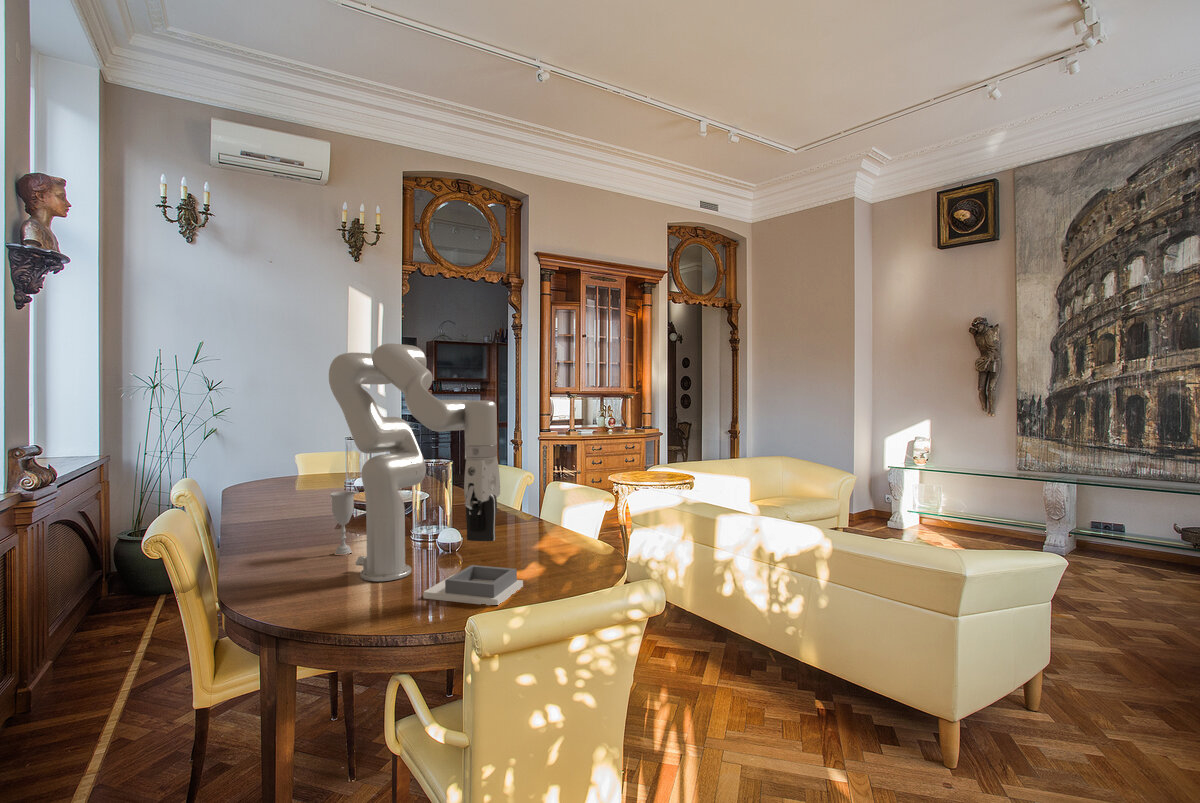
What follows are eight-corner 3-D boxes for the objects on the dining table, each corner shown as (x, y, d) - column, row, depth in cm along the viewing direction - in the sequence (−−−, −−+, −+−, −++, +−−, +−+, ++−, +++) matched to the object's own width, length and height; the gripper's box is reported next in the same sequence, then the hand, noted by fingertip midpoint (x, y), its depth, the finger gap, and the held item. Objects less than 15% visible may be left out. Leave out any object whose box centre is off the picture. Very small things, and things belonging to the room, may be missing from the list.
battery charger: (499, 538, 144) (498, 491, 143) (493, 542, 140) (493, 493, 140) (471, 537, 145) (471, 490, 145) (465, 541, 141) (465, 493, 141)
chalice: (361, 552, 178) (360, 492, 178) (340, 558, 173) (339, 496, 172) (346, 549, 182) (345, 490, 182) (325, 554, 177) (324, 493, 176)
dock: (423, 598, 139) (423, 579, 139) (454, 579, 153) (454, 562, 152) (497, 606, 134) (497, 586, 134) (522, 586, 147) (522, 568, 147)
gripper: (478, 456, 133) (479, 538, 133) (510, 449, 149) (511, 522, 149) (448, 455, 135) (449, 536, 135) (483, 448, 151) (484, 520, 151)
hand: (482, 528), depth 142 cm, fingers closed on battery charger, 4 cm apart
